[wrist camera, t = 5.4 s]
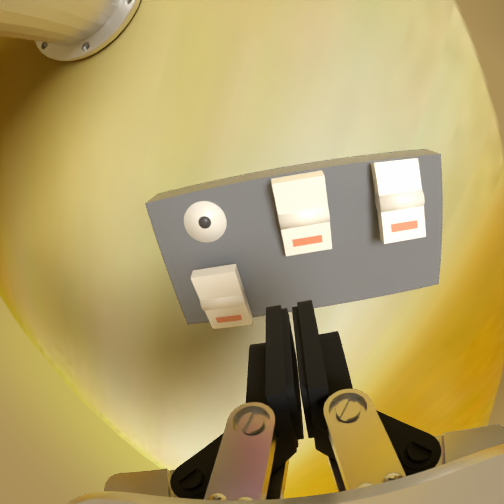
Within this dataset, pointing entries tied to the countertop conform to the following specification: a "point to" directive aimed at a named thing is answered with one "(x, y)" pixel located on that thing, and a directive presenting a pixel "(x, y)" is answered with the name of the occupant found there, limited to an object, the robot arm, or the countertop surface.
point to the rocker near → (399, 200)
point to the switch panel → (271, 242)
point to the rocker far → (222, 296)
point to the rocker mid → (303, 212)
